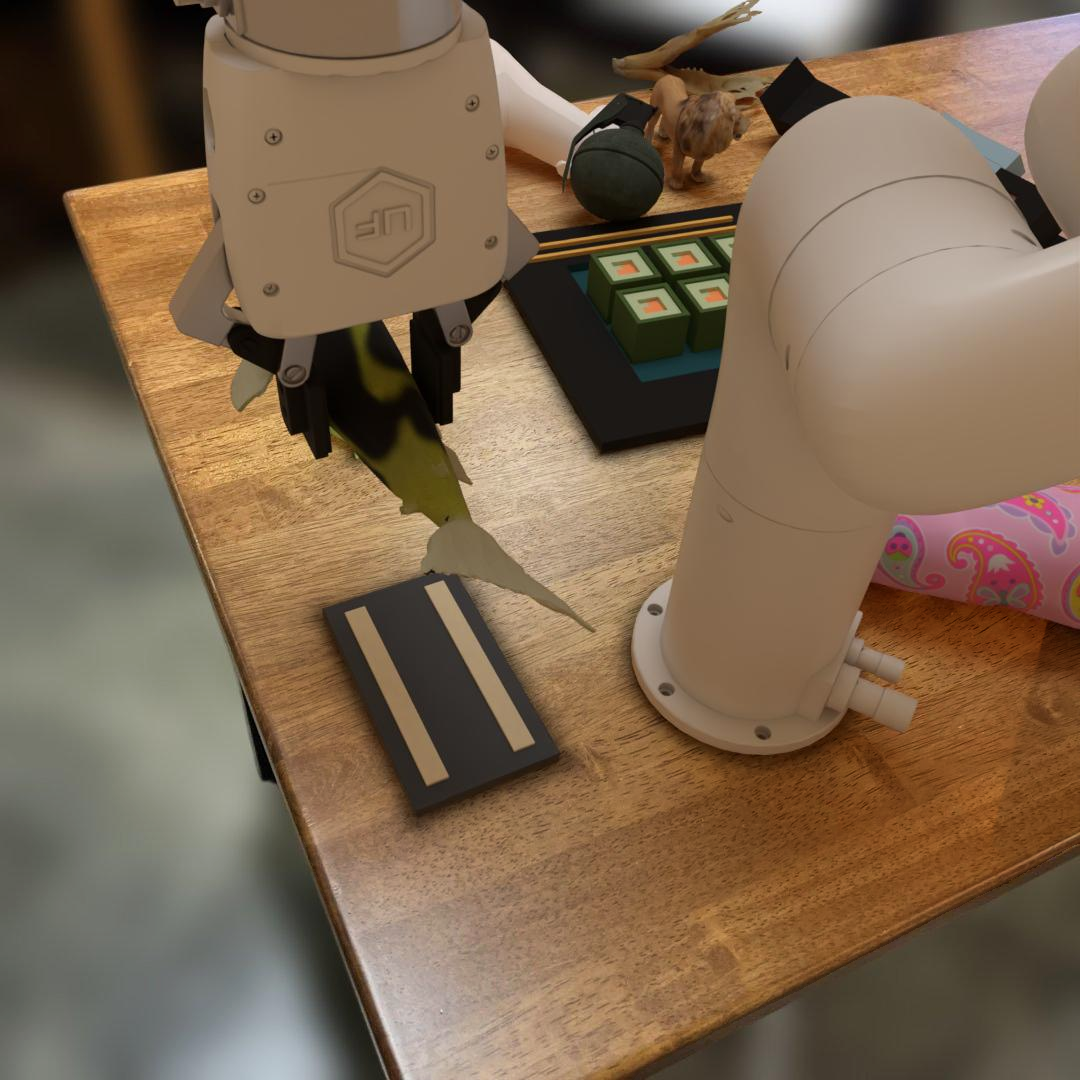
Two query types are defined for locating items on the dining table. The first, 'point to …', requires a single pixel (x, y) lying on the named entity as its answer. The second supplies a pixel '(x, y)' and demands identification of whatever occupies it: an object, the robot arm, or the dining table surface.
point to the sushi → (633, 319)
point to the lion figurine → (694, 125)
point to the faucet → (537, 114)
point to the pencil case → (994, 555)
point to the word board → (438, 691)
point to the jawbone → (695, 81)
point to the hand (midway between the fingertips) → (373, 418)
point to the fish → (404, 452)
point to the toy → (806, 94)
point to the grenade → (616, 163)
